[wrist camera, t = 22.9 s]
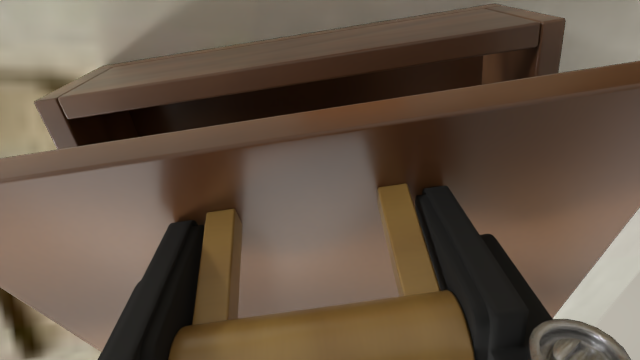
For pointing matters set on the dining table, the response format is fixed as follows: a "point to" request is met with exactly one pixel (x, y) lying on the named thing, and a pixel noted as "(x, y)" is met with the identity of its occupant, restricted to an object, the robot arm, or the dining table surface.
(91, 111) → the chest
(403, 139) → the chest lid
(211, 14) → the dining table surface
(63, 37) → the dining table surface
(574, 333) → the robot arm
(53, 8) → the dining table surface
